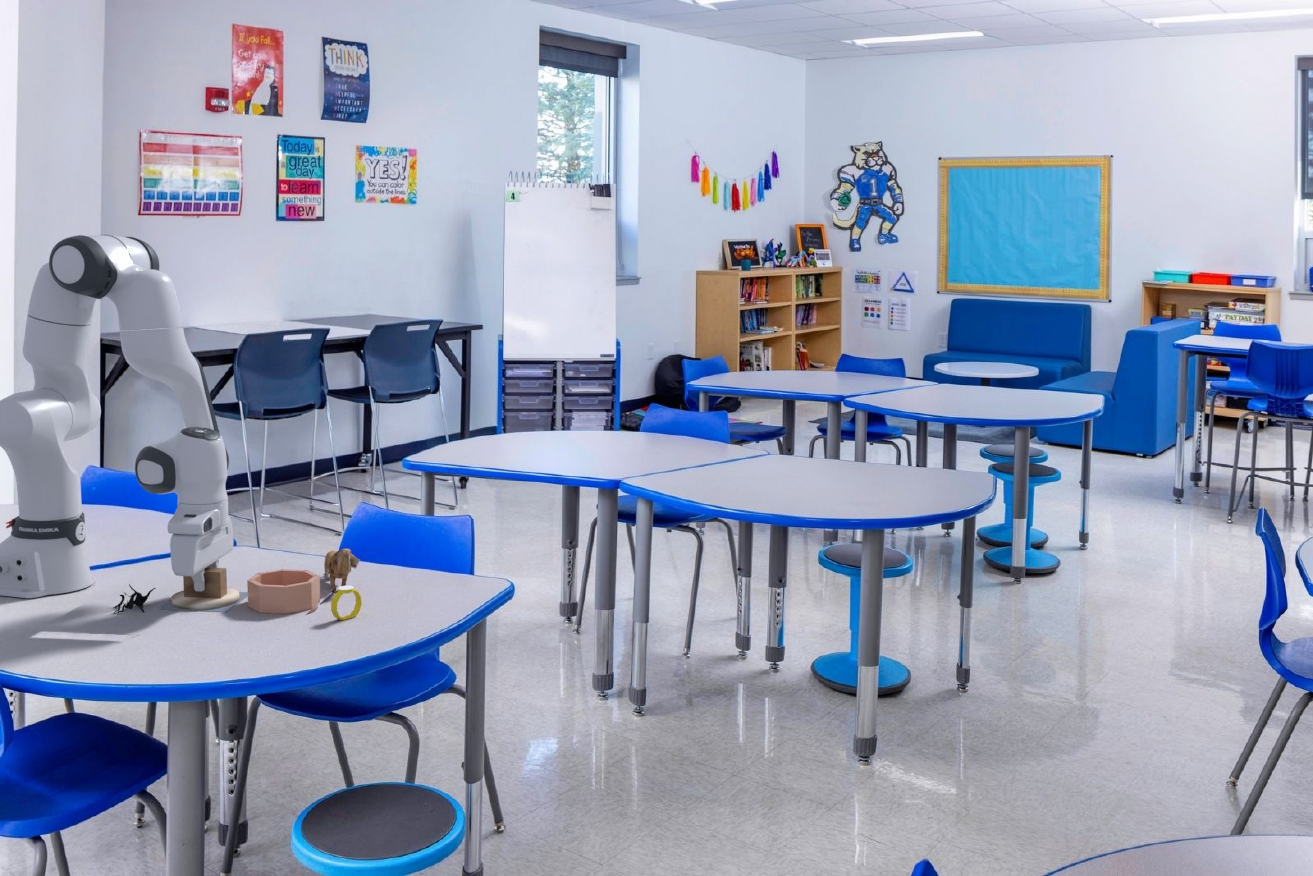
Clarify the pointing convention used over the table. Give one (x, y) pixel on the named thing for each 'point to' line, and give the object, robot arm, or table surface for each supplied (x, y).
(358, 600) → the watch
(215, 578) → the lid
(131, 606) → the creature
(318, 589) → the octagonal planter
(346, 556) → the lion figurine
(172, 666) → the table surface
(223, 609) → the mat
